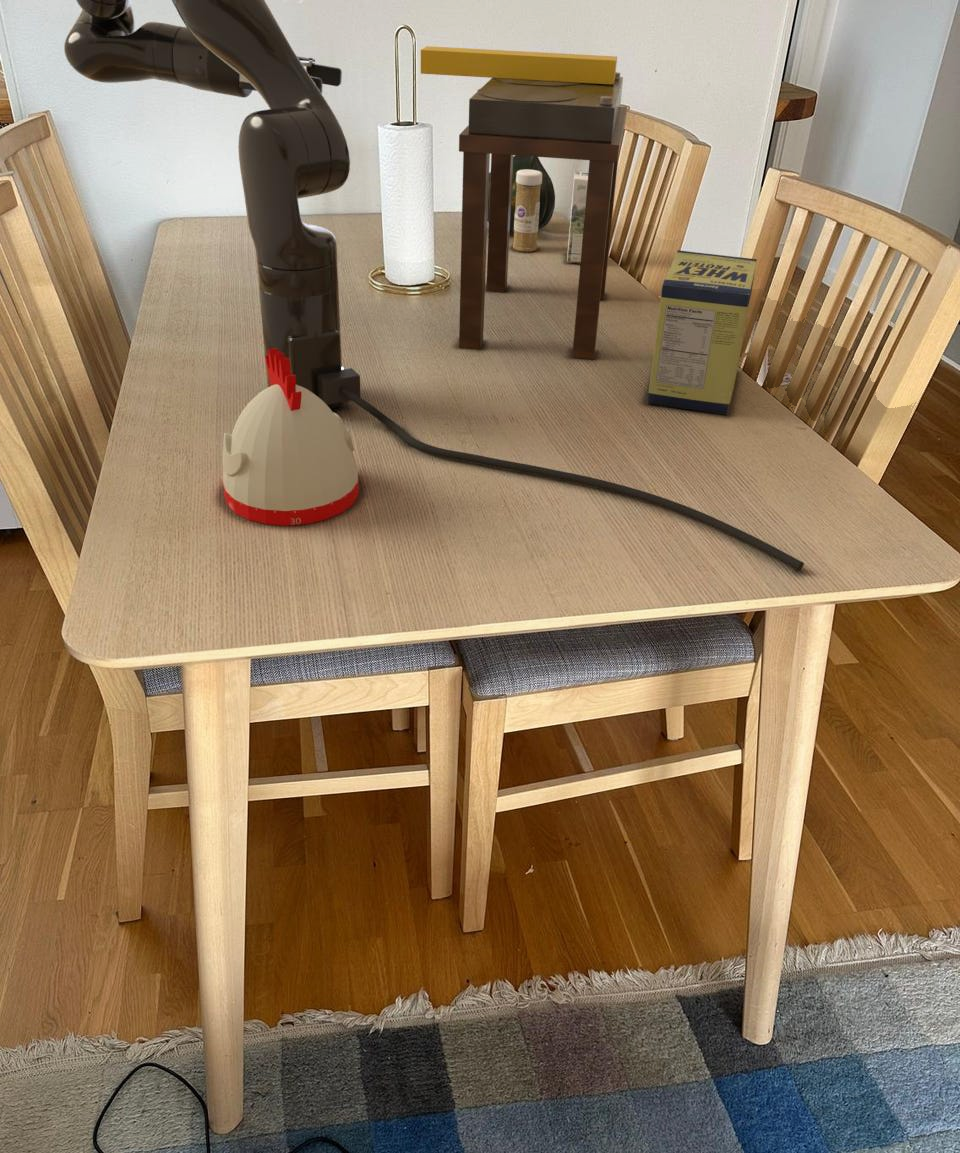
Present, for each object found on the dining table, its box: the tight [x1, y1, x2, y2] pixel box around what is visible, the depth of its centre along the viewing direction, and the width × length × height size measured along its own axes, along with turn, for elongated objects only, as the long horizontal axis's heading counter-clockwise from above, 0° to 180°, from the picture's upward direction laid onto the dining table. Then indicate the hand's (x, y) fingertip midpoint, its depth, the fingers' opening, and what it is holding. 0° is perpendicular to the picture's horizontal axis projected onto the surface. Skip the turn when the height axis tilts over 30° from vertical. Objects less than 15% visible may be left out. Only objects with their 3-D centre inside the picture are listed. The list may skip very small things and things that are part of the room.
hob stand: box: [458, 71, 628, 360], centre depth 144 cm, size 20×30×33 cm, turn 171°
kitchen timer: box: [221, 348, 360, 526], centre depth 102 cm, size 14×14×15 cm
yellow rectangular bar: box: [420, 45, 618, 85], centre depth 141 cm, size 27×4×3 cm, turn 81°
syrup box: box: [566, 171, 589, 265], centre depth 176 cm, size 6×6×14 cm
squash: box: [487, 155, 556, 235], centre depth 192 cm, size 14×15×15 cm
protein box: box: [646, 249, 758, 416], centre depth 129 cm, size 10×16×16 cm
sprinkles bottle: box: [512, 169, 542, 253], centre depth 181 cm, size 5×5×13 cm
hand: (331, 82), depth 135 cm, fingers open, 8 cm apart
